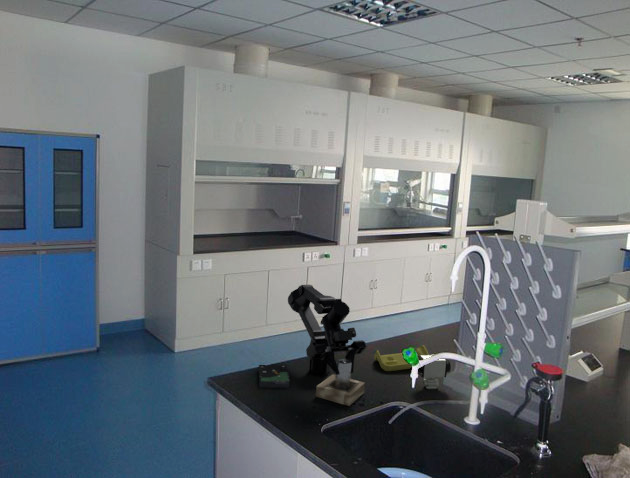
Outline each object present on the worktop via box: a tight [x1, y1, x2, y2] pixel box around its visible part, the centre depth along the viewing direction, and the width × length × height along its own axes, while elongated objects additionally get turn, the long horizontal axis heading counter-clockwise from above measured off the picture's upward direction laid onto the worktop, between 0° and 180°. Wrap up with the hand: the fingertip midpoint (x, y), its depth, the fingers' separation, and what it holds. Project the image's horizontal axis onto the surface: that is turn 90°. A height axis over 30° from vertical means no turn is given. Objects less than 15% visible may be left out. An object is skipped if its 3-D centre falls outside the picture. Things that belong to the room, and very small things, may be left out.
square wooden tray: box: [315, 373, 366, 407], centre depth 169 cm, size 12×12×4 cm
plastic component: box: [373, 344, 430, 372], centre depth 198 cm, size 20×7×10 cm
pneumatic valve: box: [417, 353, 452, 390], centre depth 179 cm, size 6×12×12 cm, turn 99°
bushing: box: [334, 358, 352, 391], centre depth 168 cm, size 5×5×10 cm
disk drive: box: [258, 364, 291, 388], centre depth 179 cm, size 10×3×15 cm
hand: (345, 373), depth 167 cm, fingers closed on bushing, 5 cm apart
